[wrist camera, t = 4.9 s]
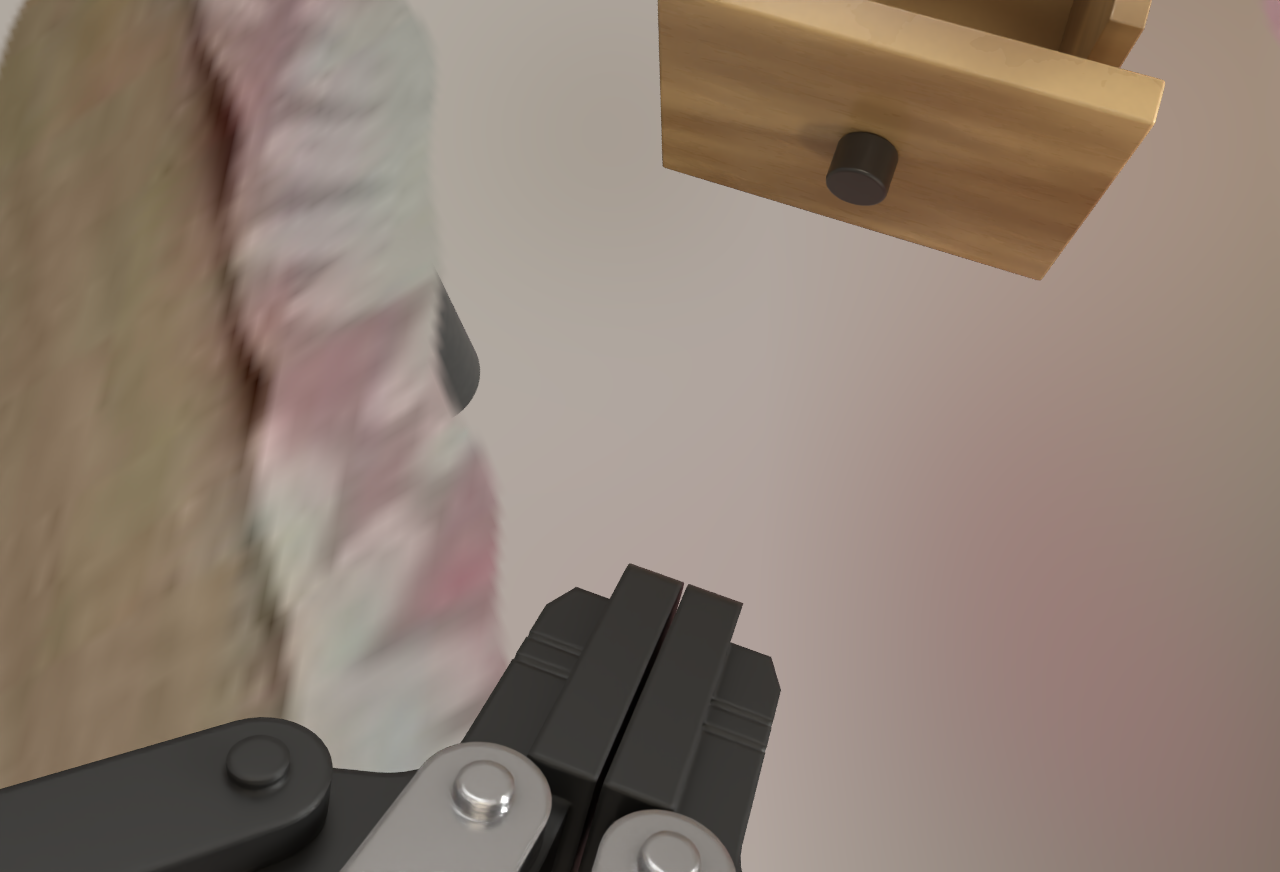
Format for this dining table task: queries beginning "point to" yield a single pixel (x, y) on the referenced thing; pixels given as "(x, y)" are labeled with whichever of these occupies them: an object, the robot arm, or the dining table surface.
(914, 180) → the wooden drawer with knob
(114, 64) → the dining table surface
